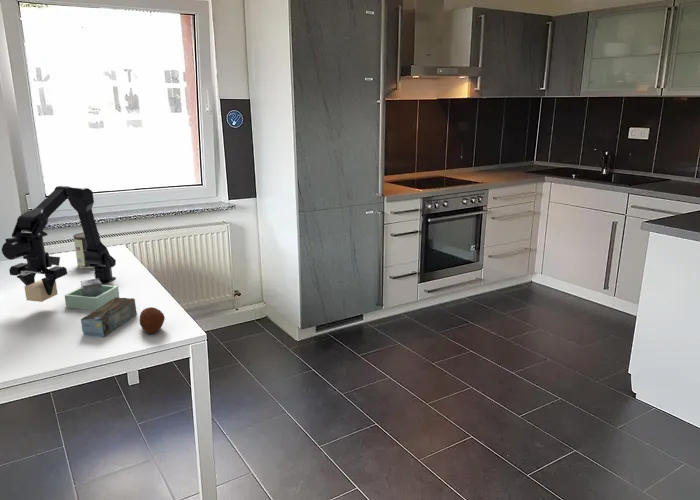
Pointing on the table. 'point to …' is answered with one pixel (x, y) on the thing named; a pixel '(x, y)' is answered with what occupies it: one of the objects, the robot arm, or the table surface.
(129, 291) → the table surface
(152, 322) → the potato
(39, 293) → the tan rectangular block
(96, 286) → the tin
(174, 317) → the table surface
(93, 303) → the tote
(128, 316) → the beverage carton
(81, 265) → the coffee can
